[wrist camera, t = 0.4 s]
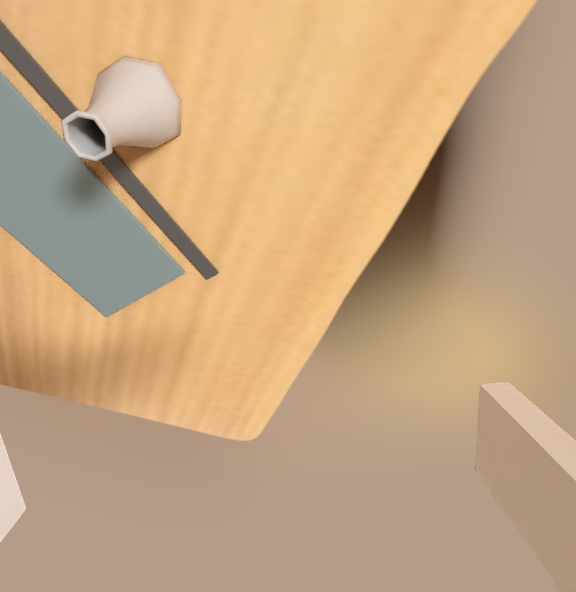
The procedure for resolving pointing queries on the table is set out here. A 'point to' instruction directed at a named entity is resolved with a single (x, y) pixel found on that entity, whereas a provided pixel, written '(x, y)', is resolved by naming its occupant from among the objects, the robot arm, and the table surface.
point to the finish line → (63, 106)
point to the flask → (125, 111)
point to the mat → (72, 214)
